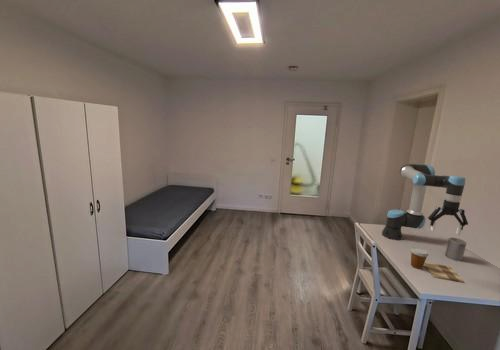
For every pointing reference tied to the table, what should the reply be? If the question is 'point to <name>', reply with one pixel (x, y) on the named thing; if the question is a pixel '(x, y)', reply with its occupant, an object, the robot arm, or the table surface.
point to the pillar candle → (455, 249)
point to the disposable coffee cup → (418, 257)
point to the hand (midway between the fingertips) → (444, 232)
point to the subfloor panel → (442, 272)
